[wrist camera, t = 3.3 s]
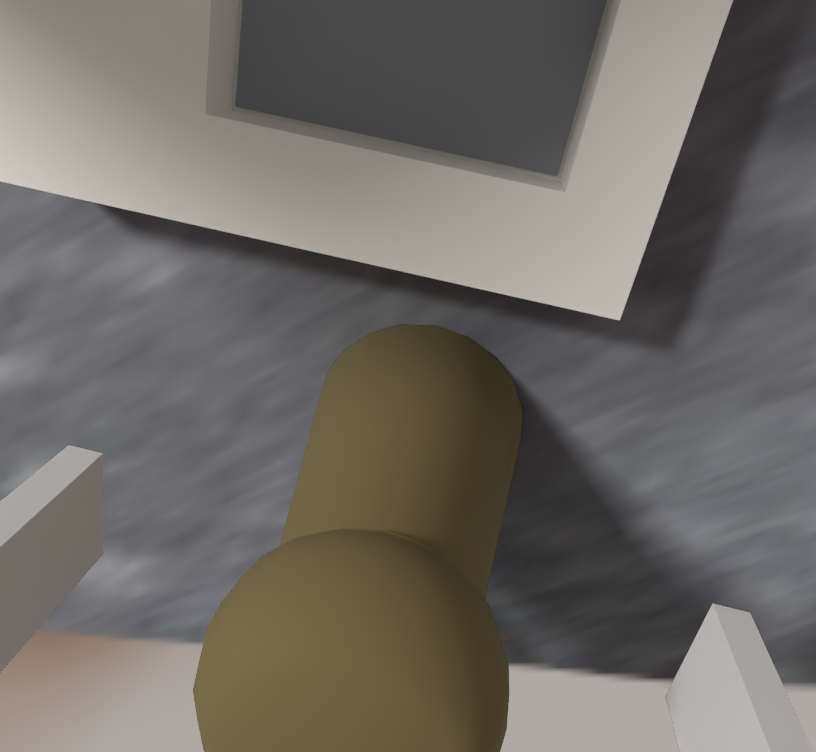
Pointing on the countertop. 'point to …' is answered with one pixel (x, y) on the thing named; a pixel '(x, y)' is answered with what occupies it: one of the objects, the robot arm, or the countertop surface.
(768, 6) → the countertop surface
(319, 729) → the cork
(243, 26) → the socket plate
